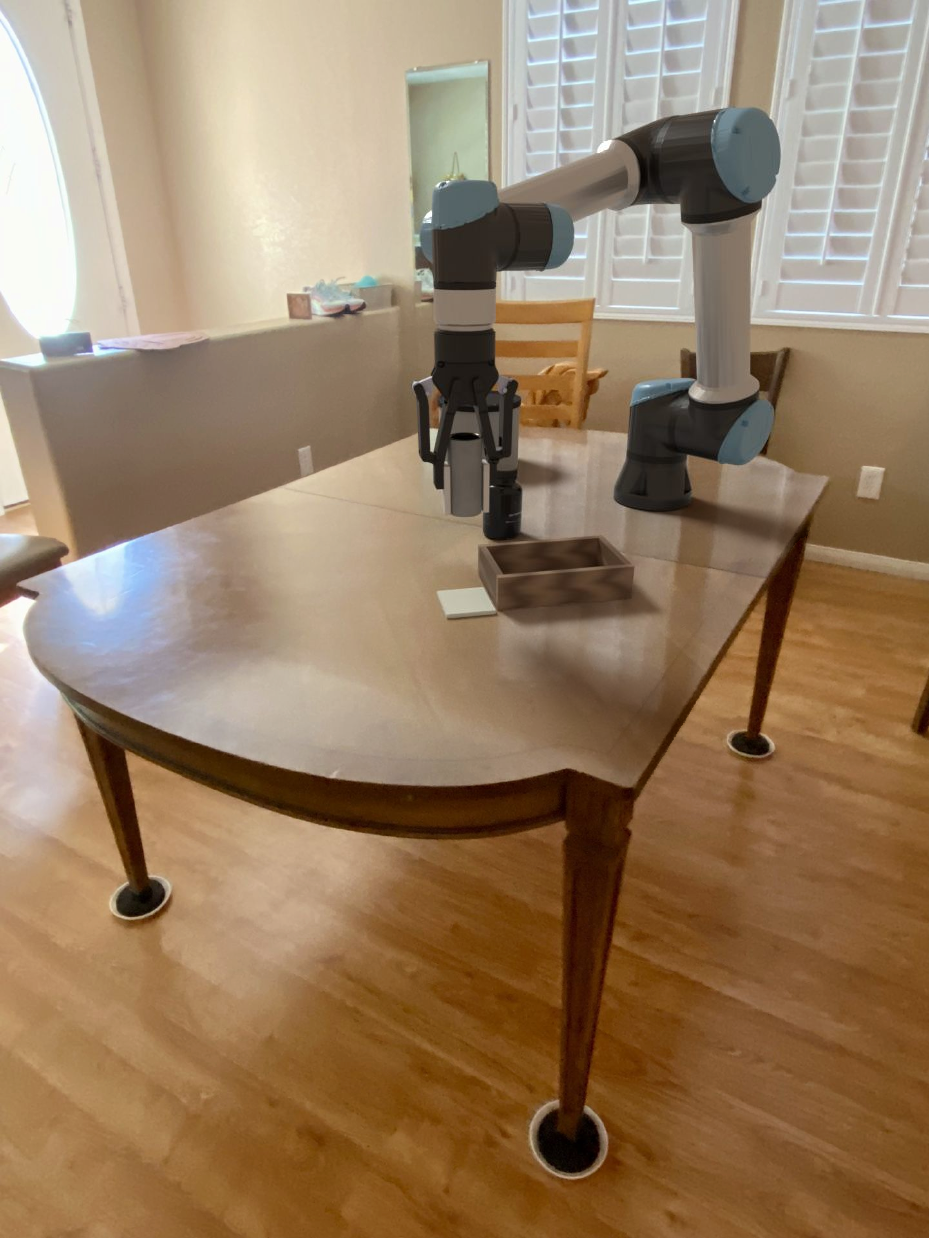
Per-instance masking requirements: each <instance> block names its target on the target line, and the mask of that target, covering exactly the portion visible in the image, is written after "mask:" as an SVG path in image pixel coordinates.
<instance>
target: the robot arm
mask: <svg viewBox="0 0 929 1238" xmlns="http://www.w3.org/2000/svg"><path fill="white" fill-rule="evenodd" d="M781 151H782V150H781V141H780V136H779V133H778V130H777V127H776V125H775V123H774V121H773V120H772V118H770V117H769V115H768V113H767V112H766V111H764V110H763V109H761V108H759V107H755V106H746V107H742V106H741V107H739V106H738V107H736V106H729V107H724V108H717V109H712V110H704V111H700V112H699V111H698V112H694V113H693V112H692V113H687V114H686V113H685V114H681V115H680V114H677V115H671V116H667V117H663V118H659V119H656V120H654V121H652V122H649V123H647V124H644V125H641V126H640V127H637V128H635V129H633V130H631V131H627V132H626V133H623V134H621V135H619V136H616V137H614V138H612V139H609V140H607V141H604V142H603V143H601V144H600V145H599V147H597V148H596V150H595V152H594V153H593V154H590V155H588V156H585V157H583V158H580V159H577V160H574V161H572V162H569V163H567V164H564V165H561V166H559V167H556V168H554V169H551V170H548V171H546V172H542V173H541V174H540V173H539V174H538V175H534V176H532V177H530V178H527V179H525V180H521V181H519V182H517V183H514V184H511V185H509V186H506V187H504V188H501V189H498V186H497V184H496V183H495V182H494V181H492V180H491V181H490V180H485V179H484V180H481V179H453V180H452V179H449V180H443V181H439V182H438V183H437V184H435V186H434V187H433V189H432V198H431V210H430V211H429V212H427V213H426V215H424V217H423V219H422V221H421V224H420V228H419V233H418V234H419V242H420V247H421V248H420V249H421V250H422V253H423V255H424V257H425V258H426V260H428V261H429V262H430V263H431V264H432V274H433V275H432V279H433V281H432V283H433V286H432V287H433V322H434V323H435V324H436V325H438V328H436V329H435V330H434V331H433V350H434V353H433V354H434V356H433V357H434V363H433V364H434V365H433V368H432V370H431V372H430V376H428V377H426V378H423V379H421V380H413V381H412V382H411V385H410V386H411V389H412V391H413V395H414V397H415V400H416V417H417V418H416V419H417V421H416V422H417V442H418V443H417V444H418V456H419V458H420V460H421V461H422V462H424V463H429V464H431V465H432V471H433V474H432V476H433V477H432V478H433V485H434V488H435V489H436V490H437V491H438V490H439V491H440V492H441V494H440V495H441V511H442V512H443V514H444V515H445V516H452V515H451V503H450V466H449V465H448V463H447V462H445V458H446V453H447V448H448V444H449V439H450V435H451V430H452V425H453V421H454V416H455V414H456V411H457V406H463V405H466V404H467V405H471V406H474V409H475V413H476V417H477V422H478V426H479V431H480V435H481V436H482V444H483V449H484V453H485V457H486V460H485V459H482V514H483V513H485V512H489V486H495V485H496V483H497V464H498V463H499V460H500V459H503V458H508V457H510V456H511V449H512V421H513V399H514V396H515V394H517V391H518V388H519V382H518V381H517V380H516V379H515V378H513V377H512V376H503V375H501V374H499V373H500V372H499V371H498V369H497V366H496V365H497V364H496V331H495V330H494V328H492V325H493V324H495V323H497V320H496V319H497V316H496V313H497V312H496V311H497V310H496V309H497V305H496V303H497V275H498V274H497V273H498V272H500V273H501V272H526V271H536V272H538V271H539V272H544V271H545V270H554V269H558V268H560V267H561V266H562V265H564V264H565V263H566V261H567V260H568V259H569V257H570V256H571V253H572V251H573V249H574V244H575V226H574V223H575V222H578V221H580V220H582V219H586V218H587V217H590V216H592V215H594V214H597V213H600V212H603V211H604V210H606V209H607V210H610V211H614V212H615V211H622V210H625V209H627V208H629V207H634V206H640V205H641V206H643V205H645V206H646V205H680V206H679V207H680V209H679V210H680V223H681V224H682V226H684V227H685V228H687V230H689V231H690V233H691V247H692V248H691V249H692V250H691V251H692V273H693V274H692V276H693V299H694V301H693V303H694V305H693V306H694V327H695V328H694V331H695V333H694V334H695V356H696V357H695V358H696V359H695V360H696V379H695V378H691V377H677V378H660V379H651V380H645V381H641V382H639V383H637V384H635V386H634V388H633V389H632V393H631V394H632V395H631V400H630V404H629V415H628V416H629V418H628V428H627V429H628V430H627V441H626V442H627V443H626V451H625V453H626V454H625V455H626V456H625V460H624V463H623V465H622V467H621V470H620V472H619V475H618V476H617V478H616V482H615V484H614V487H613V499H614V500H615V501H616V502H618V503H619V504H621V505H623V506H626V507H630V508H633V509H638V510H645V511H673V510H680V509H683V508H686V507H688V506H690V504H691V501H692V496H693V489H692V485H691V479H690V473H689V469H688V463H687V461H688V456H691V457H695V458H698V459H699V458H700V459H704V460H709V461H713V462H717V463H718V464H721V465H732V466H738V467H739V466H744V465H747V464H748V463H750V462H751V461H753V460H754V459H755V458H756V457H757V456H758V455H759V454H760V452H761V451H762V450H763V448H764V447H765V444H766V443H767V440H769V437H770V434H771V431H772V428H773V425H774V419H775V409H774V406H773V405H772V403H771V402H770V401H769V400H767V399H765V398H760V381H759V380H758V379H757V378H756V377H755V376H754V375H752V374H751V304H752V303H751V292H752V291H751V287H752V286H751V285H752V284H751V283H752V282H751V281H752V280H751V277H752V276H751V273H752V272H751V271H752V270H751V269H752V268H751V267H752V264H751V263H752V259H751V258H752V256H751V255H752V253H751V252H752V248H751V247H752V221H753V220H754V219H755V218H756V217H757V215H758V214H759V213H760V212H761V210H762V208H763V200H764V199H765V198H766V197H767V196H769V195H770V194H771V193H772V192H773V191H772V190H773V189H774V187H775V185H776V183H777V177H776V176H777V175H779V172H780V167H781V158H782V157H781V156H782V155H781ZM495 385H497V391H498V392H499V393H500V400H499V435H498V447H497V448H496V447H495V442H494V437H493V433H492V428H491V423H490V419H489V414H488V406H487V402H486V397H487V396H488V394H489V393H490V391H491V390H493V388H494V387H495ZM434 386H435V388H436V389H437V391H438V392H439V393H440V395H442V396H443V397H444V400H443V404H442V413H441V418H440V423H439V422H438V429H437V433H436V437H435V441H434V442H435V443H434V447H433V451H431V432H430V430H431V428H430V427H431V424H430V422H431V421H430V405H429V403H430V402H429V398H430V397H431V395H432V388H433V387H434Z"/></svg>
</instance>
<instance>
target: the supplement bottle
mask: <svg viewBox="0 0 929 1238" xmlns="http://www.w3.org/2000/svg"><path fill="white" fill-rule="evenodd" d="M518 471H519V469H518V466H517V467H516V466H513V465H508V464H497V483H496V485H495V486H489V512H485V513H483V512H482V534H483V535H484V536H485V537H487V538H490V539H494V540H503V541H504V540H512V539H516V538H517V537H519V536H520V534H521V533H522V530H521V529H522V516H523V515H522V514H523V513H522V512H523V511H522V510H523V490H524V489H523V486H522V484H521V483H520V482H518V481H517V480H518V479H519V478H518V477H519V476H518V474H519V473H518Z"/></svg>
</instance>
